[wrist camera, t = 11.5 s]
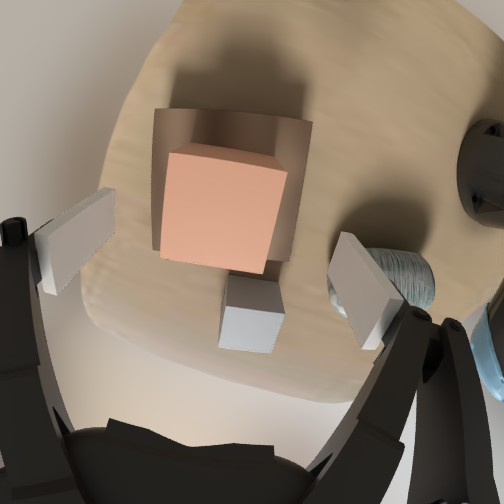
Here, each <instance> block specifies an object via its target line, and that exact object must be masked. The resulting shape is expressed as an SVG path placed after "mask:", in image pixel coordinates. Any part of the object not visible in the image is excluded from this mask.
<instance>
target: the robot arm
mask: <svg viewBox="0 0 504 504" xmlns="http://www.w3.org/2000/svg"><path fill="white" fill-rule="evenodd" d="M457 185H458V192H459V197H460V200H461V203H462V206H463V208H464V210H465V211H466V213H467V214H468V215H469V216H470V217H471V218H472V219H474V220H476V221H477V222H479V223H480V224H482V225H484V226H487V227H492V228H499V229H504V122H501V121H497V120H492V119H484V120H481V121H479V122H477V123H476V124H475V125H474V126H473V127H472V128H471V129H470V130H469V132H468V133H467V135H466V137H465V139H464V141H463V144H462V147H461V150H460V154H459V159H458V167H457ZM115 194H116V189H112V188H105V187H104V188H103V189H101V190H99V191H98V192H96V193H94V194H93V195H91V196H89V197H88V198H86V199H84V200H83V201H81V202H79V203H78V204H76V205H75V206H73V207H71V208H70V209H68V210H67V211H65V212H64V213H62V214H61V215H59V216H58V217H56V218H55V219H52V220H50V221H48V222H47V223H46V224H44V225H43V226H41V227H40V228H39V229H37V230H36V231H35V232H33V233H32V234H30V235H29V236H28V231H27V223H26V219H25V218H23V217H13V218H9V219H7V220H5V221H3V222H2V223H1V224H0V235H1V240H2V246H0V451H1V455H2V458H3V462H4V465H5V467H3V468H1V469H0V504H380V503H381V501H382V499H383V497H384V495H385V493H386V491H387V489H388V487H389V485H390V483H391V481H392V479H393V476H394V474H395V471H396V470H397V467H398V465H399V462H400V460H401V458H402V455H403V452H404V448H405V446H404V443H402V442H400V441H399V439H400V436H401V434H402V431H403V429H404V426H405V423H406V420H407V418H408V415H409V412H410V409H411V405H412V403H413V399H414V396H415V393H416V389H417V408H416V432H415V446H414V456H413V466H412V473H411V481H410V487H409V492H408V499H407V504H500V501H499V497H498V492H497V488H496V484H495V480H494V477H493V461H492V448H491V439H490V431H489V424H488V417H487V412H486V406H485V401H484V396H483V391H482V387H481V383H480V378H479V375H480V377H481V379H482V380H483V382H484V384H485V385H486V387H487V388H488V390H489V391H490V392H491V393H492V395H493V396H494V397H495V398H497V399H498V400H499V401H501V400H502V402H503V403H504V279H503V281H502V282H501V284H500V286H499V288H498V290H497V292H496V293H495V295H494V297H493V299H492V300H491V302H489V303H487V305H486V307H485V310H484V313H483V314H482V316H481V318H480V320H479V321H478V323H477V325H476V326H475V328H474V330H473V332H472V335H471V342H470V343H471V344H470V343H469V340H468V337H467V334H466V331H465V329H464V327H463V326H462V325H461V323H460V322H458V321H457V320H454V319H452V318H445V319H444V321H443V323H442V324H441V326H440V325H437V324H434V323H432V318H431V317H430V315H429V314H428V313H427V312H426V311H425V310H423V309H422V308H419V307H417V306H413V305H412V306H411V305H410V304H409V303H408V301H407V300H406V298H405V297H404V296H403V294H401V292H400V290H399V289H398V288H397V286H396V285H395V284H394V282H393V281H392V280H390V279H389V278H388V277H387V276H386V275H385V273H384V272H383V271H382V270H381V268H380V267H379V266H378V264H377V263H376V262H375V261H374V259H373V258H372V257H371V256H370V254H369V253H368V252H367V250H366V249H365V248H364V247H363V246H362V244H361V243H360V242H359V241H358V239H357V238H356V237H355V236H354V235H353V234H351V233H347V232H343V231H341V234H340V237H339V240H338V243H337V245H336V248H335V251H334V254H333V256H332V259H331V262H330V265H329V267H328V270H327V273H328V276H329V278H330V280H331V282H332V284H333V286H334V288H335V291H336V293H337V295H338V297H339V299H340V302H341V304H342V306H343V308H344V311H345V313H346V315H347V317H348V320H349V322H350V324H351V327H352V329H353V331H354V334H355V336H356V338H357V341H358V343H359V345H360V348H361V349H365V350H376V348H377V346H378V345H379V343H380V342H381V340H382V341H383V343H384V345H385V346H384V348H383V349H382V351H381V352H380V354H379V355H378V357H377V358H376V360H375V361H374V363H373V364H374V366H373V368H372V370H371V372H370V374H369V376H368V377H367V379H366V381H365V383H364V385H363V386H362V388H361V390H360V391H359V393H358V395H357V397H356V398H355V400H354V402H353V403H352V405H351V407H350V408H349V410H348V411H347V413H346V415H345V416H344V418H343V419H342V421H341V422H340V424H339V425H338V427H337V428H336V430H335V431H334V433H333V434H332V436H331V437H330V438H329V440H328V441H327V443H326V444H325V446H324V447H323V448H322V450H321V451H320V452H319V454H318V455H317V456H316V458H315V459H314V460H313V461H312V463H311V464H310V465H309V466H308V467H307V468H306V469H304V468H303V467H301V466H300V465H297V464H296V463H294V462H291V461H290V460H287V459H285V458H282V457H279V456H275V455H274V446H271V445H251V444H237V443H231V444H222V445H213V446H212V445H211V446H199V447H189V446H185V445H182V444H180V443H177V442H175V441H173V440H171V439H168V438H166V437H164V436H162V435H160V434H157V433H155V432H153V431H151V430H149V429H146V428H142V427H139V426H134V425H131V424H127V423H124V422H120V421H117V420H114V419H111V418H109V421H108V423H107V427H106V428H105V427H92V428H84V429H80V430H76V431H75V429H74V427H73V425H72V423H71V421H70V419H69V416H68V414H67V411H66V408H65V405H64V402H63V399H62V396H61V393H60V390H59V387H58V384H57V380H56V377H55V373H54V370H53V366H52V362H51V358H50V354H49V350H48V345H47V341H46V336H45V331H44V326H43V320H42V314H41V307H40V300H39V293H38V288H37V284H38V283H39V282H40V281H41V280H42V284H43V289H44V292H47V293H50V294H53V295H56V296H57V295H58V294H59V293H60V292H61V291H62V289H63V288H64V287H65V286H66V284H68V282H69V281H70V280H71V279H72V278H73V277H74V275H75V274H76V273H77V272H78V271H79V270H80V269H81V268H82V267H83V266H84V264H85V263H86V262H87V261H88V260H89V259H90V258H91V257H92V256H93V255H94V254H95V253H96V252H97V250H98V249H99V248H100V247H101V246H102V245H103V244H104V243H105V242H106V241H107V240H108V239H109V238H110V237H111V236H112V235H113V234H114V228H115ZM470 345H471V346H470ZM478 373H479V374H478Z"/></svg>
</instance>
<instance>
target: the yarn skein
mask: <svg viewBox="0 0 504 504" xmlns="http://www.w3.org/2000/svg"><path fill="white" fill-rule="evenodd" d="M365 249H366V250H367V252H368V253H369V254H370V256H371V257H372V258H373V259H374V261H375V262H376V263H377V264H378V266H379V267H380V268H381V270H382V271H383V272H384V273H385V275H386V276H387V277H388V278H389V279H390V280H392V281H393V282H394V284H395V285H396V286H397V288H398V289H399V290H400V292H401V294H403V296H404V297H405V298H406V300H407V301H408V303H409V304H410V305H411V306H412V305H413V306H417V307H419V308H422V309H423V310H425V311H426V310H427V309H428V308H429V307H430V306H431V305H432V302H433V299H434V296H435V280H434V276H433V273H432V270H431V267H430V265H429V264H428V262H427V261H426V260H425V259H424V258H423V257H422V256H421V255H419V254H417V253H415V252H409V251H401V250H393V249H384V248H365ZM329 265H330V264H329ZM327 287H328V292H329V299H330V302H331V304H332V306H333V308H334V309H335V310H336V311H337V313H339V314H340V315H341V316H343V317H345V318H347V319H348V317H347V315H346V313H345V311H344V308H343V306H342V304H341V302H340V299H339V297H338V295H337V293H336V291H335V288H334V286H333V284H332V282H331V280H330V278H329V276H328V273H327Z"/></svg>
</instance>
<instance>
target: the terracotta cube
mask: <svg viewBox="0 0 504 504" xmlns="http://www.w3.org/2000/svg"><path fill="white" fill-rule="evenodd" d="M287 173H288V172H287V171H286V170H285V169H284V167H283V166H282V165H281V164H280V163H279V162H278V160H277V159H276V158H275V157H273V156H269V155H264V154H258V153H253V152H248V151H242V150H237V149H231V148H225V147H218V146H212V145H205V144H198V143H188V144H186V145H184V146H182V147H180V148H177V149H175V150H173V151H171V152H169V159H168V167H167V175H166V184H165V193H164V204H163V216H162V229H161V245H160V258H164V259H170V260H176V261H182V262H188V263H194V264H200V265H206V266H212V267H219V268H225V269H231V270H238V271H244V272H251V273H258V274H263V271H264V267H265V263H266V259H267V255H268V251H269V247H270V243H271V239H272V235H273V231H274V227H275V223H276V218H277V214H278V210H279V206H280V202H281V198H282V194H283V190H284V185H285V181H286V177H287Z"/></svg>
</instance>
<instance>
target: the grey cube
mask: <svg viewBox="0 0 504 504" xmlns="http://www.w3.org/2000/svg"><path fill="white" fill-rule="evenodd" d="M284 316H285V311H284V306H283V301H282V297H281V292H280V287H279V283H278V282H273V281H266V280H260V279H253V278H247V277H241V276H234V275H228V277H227V282H226V288H225V293H224V298H223V304H222V309H221V315H220V327H219V340H218V347H219V348H226V349H234V350H242V351H250V352H260V353H270V354H271V352H272V349H273V346H274V343H275V341H276V338H277V335H278V333H279V330H280V327H281V324H282V321H283V319H284Z"/></svg>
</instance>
